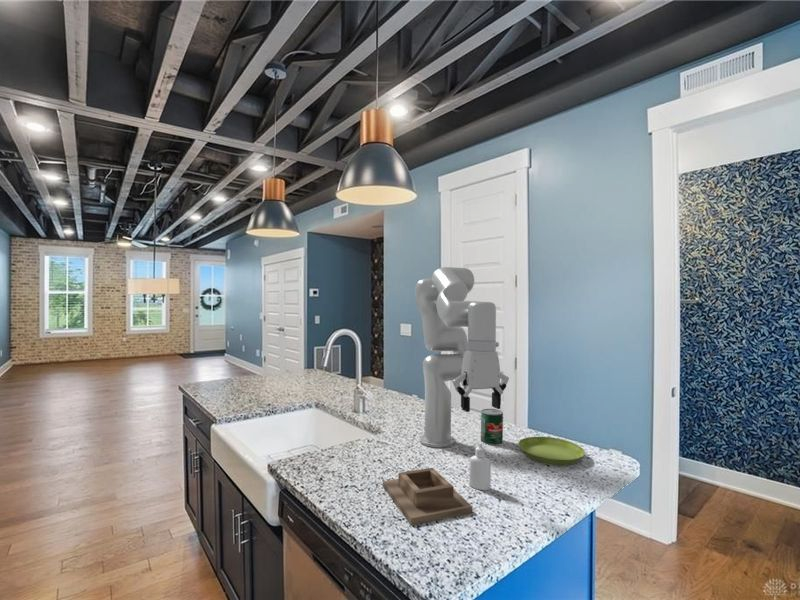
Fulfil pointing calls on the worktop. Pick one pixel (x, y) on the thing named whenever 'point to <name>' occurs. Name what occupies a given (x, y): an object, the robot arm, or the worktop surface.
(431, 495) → the bottle stand
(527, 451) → the saucer
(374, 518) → the worktop surface
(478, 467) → the eye dropper bottle
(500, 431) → the canned tomato
